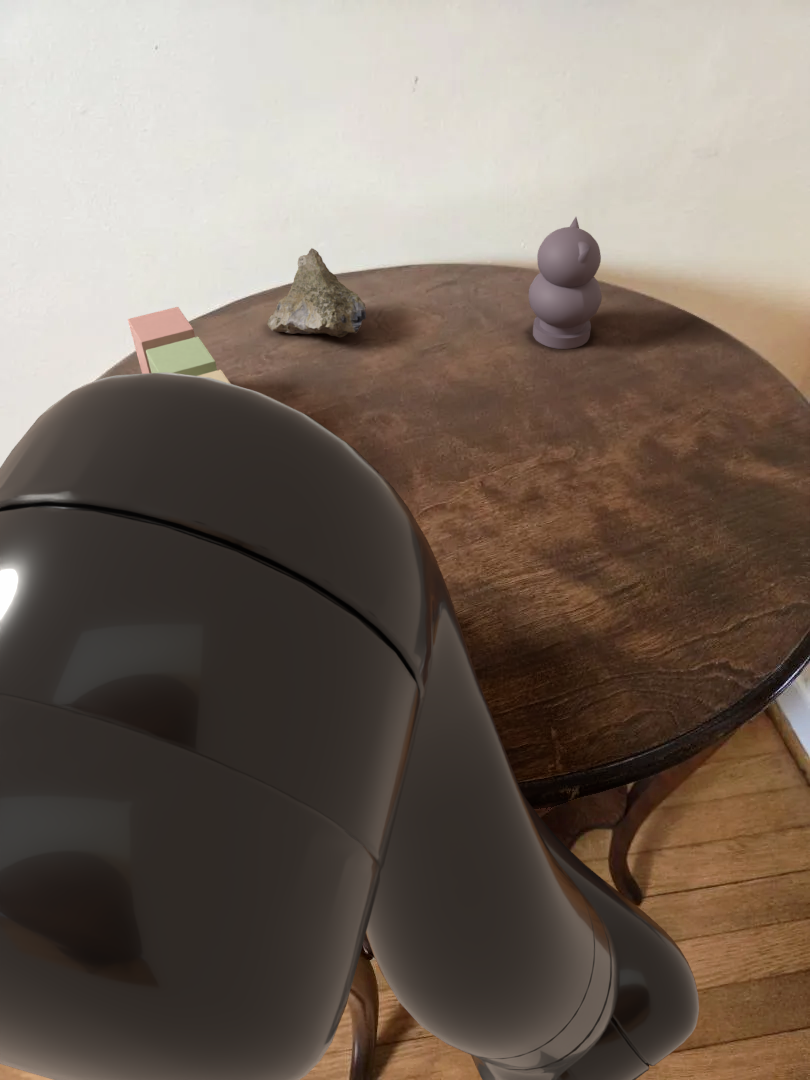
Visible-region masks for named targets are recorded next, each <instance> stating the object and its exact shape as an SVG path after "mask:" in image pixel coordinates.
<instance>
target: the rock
mask: <svg viewBox="0 0 810 1080" xmlns="http://www.w3.org/2000/svg"><path fill="white" fill-rule="evenodd" d="M322 257H323V256H321V255H320V254H319V251H317V250H316V249H315V248H313V247H312V248H310V249H309V251H308V252H307V254H304V255H303V254H302V255H300V256H299V257H298V259H297V271H296V273H295V275H294V276H293V277H294V278H293V283H292V285H291V286H290V289H289V290H288V293H287V294H286V295H285V296H284V297H283V298H280V299H279V300H278V302H277V305H276V307H275V310H274V311H273V314H271V315H270V316H269V318H268V320H267V321H266V324H267V326H268V329H270V330H271V331H272V332H278V333H279V332H280V333H281V332H282V333H283V332H284V333H286V334H291V335H293V334H301V335H313V334H326V335H329V336H331V337H337V338H343V337H345V336H347V335H348V334H350V333H351V334H355V333H358V332H359V330H360V328H361V327H362V323H363V321H364V320H366V319H367V312H366V309H367V306H366V302H364V301H363V300H362V299H361V297H360V296H359V294H358V293H356V292H354V291H353V290H351V289H349V288H347V287H346V286H345V285H344V284H342V283H341V282H340V281H339V279H338V278H337V276H336V275H335V274H334V273H333V272H331V271H330V269H329V268H328V267H327V265H326V264H325V262H324V260H323V258H322Z"/></svg>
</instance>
